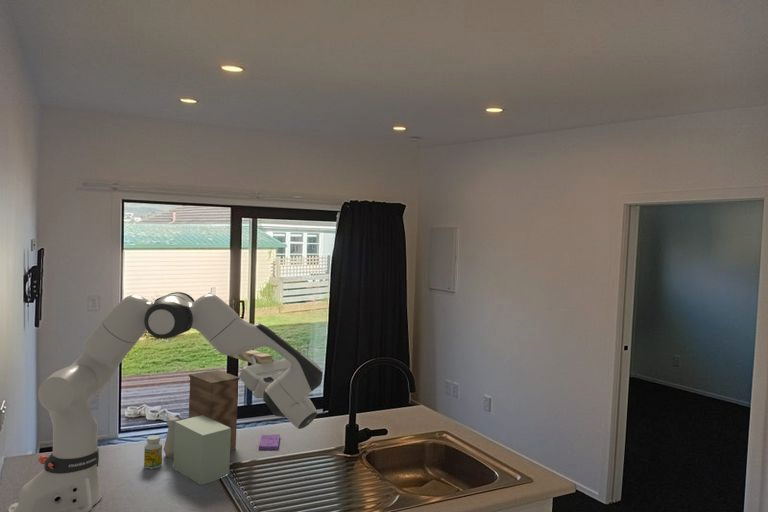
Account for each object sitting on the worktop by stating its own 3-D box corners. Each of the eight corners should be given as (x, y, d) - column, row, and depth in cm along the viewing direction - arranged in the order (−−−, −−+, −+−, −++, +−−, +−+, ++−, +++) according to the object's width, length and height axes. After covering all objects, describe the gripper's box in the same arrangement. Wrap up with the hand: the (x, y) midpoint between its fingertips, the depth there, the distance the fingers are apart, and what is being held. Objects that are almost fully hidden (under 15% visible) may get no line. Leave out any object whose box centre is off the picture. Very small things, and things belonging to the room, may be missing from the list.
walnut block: (208, 457, 192) (211, 382, 192) (186, 445, 202) (189, 374, 201) (236, 448, 201) (239, 377, 200) (214, 437, 211) (217, 369, 210)
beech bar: (271, 364, 181) (272, 355, 181) (261, 366, 178) (262, 356, 178) (231, 352, 196) (231, 344, 196) (221, 353, 193) (222, 345, 193)
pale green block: (200, 485, 171) (202, 435, 170) (173, 468, 182) (174, 421, 181) (229, 475, 178) (230, 428, 178) (200, 460, 189) (202, 415, 189)
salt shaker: (184, 453, 195) (185, 416, 194) (176, 459, 189) (177, 421, 189) (168, 451, 195) (169, 415, 195) (160, 457, 190) (161, 420, 189)
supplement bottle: (164, 463, 185) (165, 435, 185) (156, 470, 180) (157, 440, 180) (149, 462, 186) (150, 433, 185) (140, 468, 180) (141, 439, 180)
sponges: (258, 451, 201) (258, 446, 201) (261, 438, 213) (261, 433, 213) (278, 451, 202) (278, 445, 202) (279, 438, 214) (280, 433, 214)
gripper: (309, 373, 181) (287, 346, 189) (257, 383, 166) (235, 353, 173) (302, 387, 183) (280, 360, 191) (250, 398, 168) (229, 368, 175)
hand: (259, 357), depth 182 cm, fingers closed on beech bar, 4 cm apart
